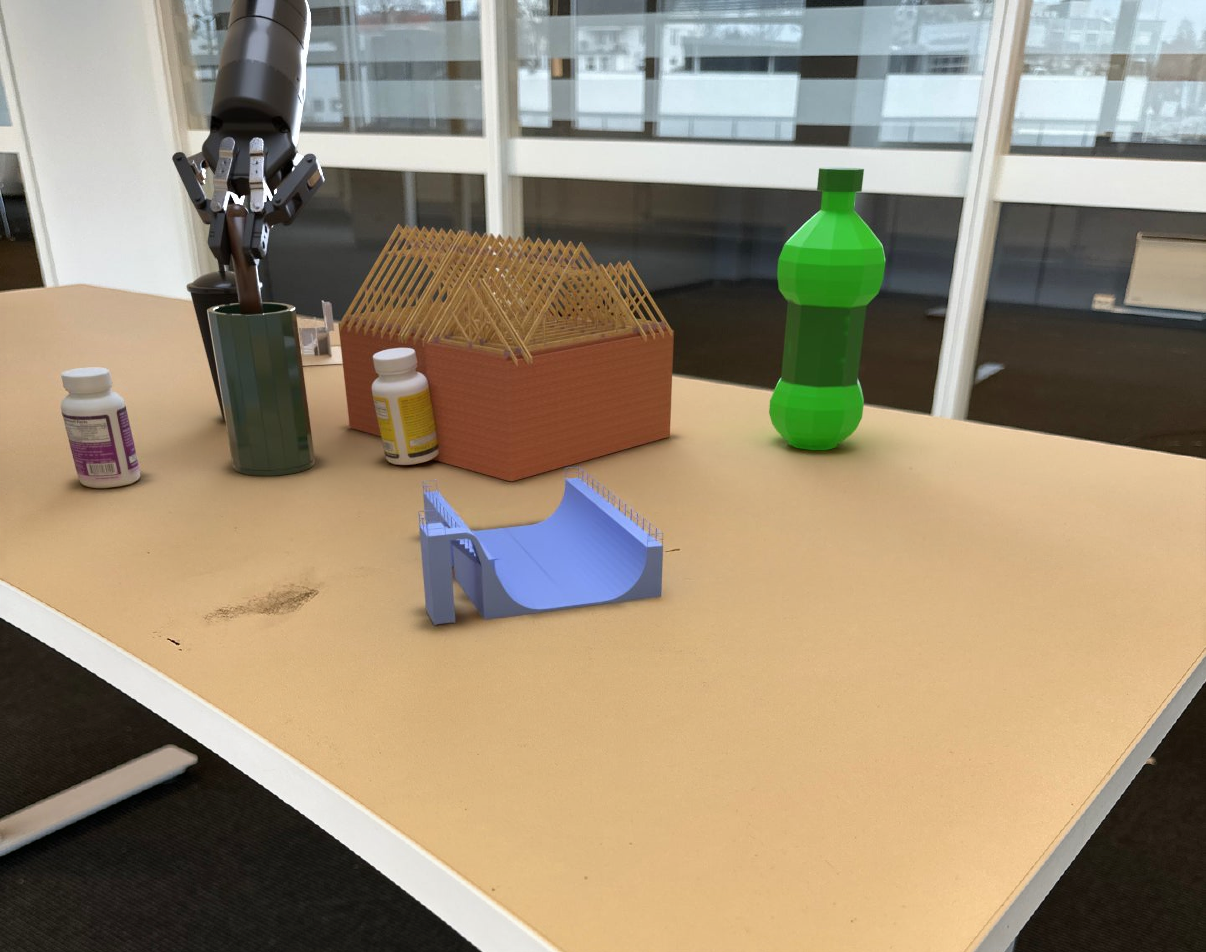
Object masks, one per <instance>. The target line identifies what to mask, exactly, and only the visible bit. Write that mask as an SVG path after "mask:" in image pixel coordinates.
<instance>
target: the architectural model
mask: <svg viewBox="0 0 1206 952" xmlns="http://www.w3.org/2000/svg"><path fill="white" fill-rule="evenodd" d="M321 306H322V313H323V322H324V326H321V327H317V319H316V316H314V317H299V320H300V322H302V320H306V321H304V322H303V323H300V326H298V332H299V340H300V348H301V356H302V364H303V367H304V366H305V367H306V366H323V365H324V366H325V365H340V364H342V365H343V362H342V353H341V345H336V346H335V345H334V346H332V345H331V337H330V332H335V326H334V324H335V323H334V316H333V314H334V313H333V307H332V303H331V302H330V301H324V300H321ZM312 321H313V323H314V325H313V326H311V327H303V326H305V325H307V324H309V323H310V322H312Z"/></svg>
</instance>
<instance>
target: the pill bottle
mask: <svg viewBox="0 0 1206 952" xmlns="http://www.w3.org/2000/svg"><path fill="white" fill-rule="evenodd" d="M60 376H61V381H62V387H63V388H64V390H65V391H66V392H67V393H68V394H67V395H66V396H64V397H63V398H62V400H61V403H60V411H61V416H62V420H63V423H64V427H65V431H66V435H67V438H68V439H67V440H68V443H69V447H70V451H71V456H72V459H73V463H74V467H75V470H76V474H77V477H78V480H79V482H80V484H81V485H82V486H85V487H87V488H93V489H109V488H117V487H119V488H120V487H123V486H128V485H132V484H134V483H135V482H136V481H138V480H139V479H140V478H141V470H140V464H139V459H138V455H137V450H136V446H135V441H134V436H133V433H132V428H131V424H130V419H129V415H128V411H127V406H126V402H125V400H124V399H123V397H122V395H120V394H119V393H117V392H116V391H113V390H111V388H112V387H113V380H112V375H111V372H110V370H109V369H108V368H105V367H100V366H99V367H98V366H97V367H96V366H95V367H94V366H89V367H87V366H86V367H77V368H72V369H71V368H70V369H67V370H63V371H62V372H61V373H60Z"/></svg>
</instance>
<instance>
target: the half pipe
mask: <svg viewBox="0 0 1206 952" xmlns="http://www.w3.org/2000/svg"><path fill="white" fill-rule="evenodd" d="M575 468H577V472H576V471H575V472H574V474H577V477H570V478H567V474H568V475H569V474H570V472H566V469H567V467H564V473H565V475H564V490H563V492H564V493H563V496H562V499H561V501H560V503H559V505H558V506H557V508H556V509H555V510H554V512H553V513H552V514H551V515H550V516H548V517H547V518H546V519H544V520H542V521H540V522H536V523H534V524H527V525H519V526H518V525H517V526H509V527H499V528H491V529H490V528H489V529H480V530H472V529H470V528H469V526H468V525H467V524H466V523H465V522H464V520H463V519H462V518H461V517H460V516H459V514H458V513H457V512H456V510H455V509H454V508H453V507H452V506H451V504H449V502H448V501H447V500H446V498H444V496H443V495H442V494H441V493H440V492H439V490H438V489H439V488H438V484H436V485H435V487H436V490H434V491H433V490H431V489H430V488H429V487H431V485H427V484H426V483H425V481H424V480H422V484H423V485H424V486H422V497H423V509H424V510H420V511H418V523H419V524H418V528H419V539H420V540H419V541H420V552H421V553H420V554H421V565H422V576H423V578H422V579H423V589H424V601H425V612H426V614H427V615H428V617H429V618H430V620H431V622H432V624H433V626H434V627H436V626H437V625H442V624H450V623H453V624H456V613H455V612H456V610H455V595H454V580H455V581H456V583H458V585H459V587H461V590H463V592H464V593H465V595H466V596H467V598H468V599H469V600H470V602H471V604H472V605H473V606H474V607H475V609H476V610H477V611H478V614H479V615H480V616H481V617H482V619H483V620H484V621H488V620H494V619H502V618H510V617H517V616H526V615H533V614H540V613H548V612H549V613H550V612H556V611H562V610H571V609H578V608H586V607H593V606H595V607H596V606H601V605H610V604H616V603H617V604H618V603H624V602H631V601H632V602H633V601H639V600H646V599H655V598H656V599H657V598H662V589H663V588H662V587H663V563H664V532H662V531H661V530H660V529H658V528H657V527H656V526H655V525H654V524H652V523H650V522H649V520H648V519H646V518H644V517H643V516H642V515H641V514H639V513H638V512H637V511H635V510H634V509H633V508H632V507H631V506H629V505H628V504H626V503H625V502H624V501H623V500H621V498H619V497H617V496H616V495H615V494H614V493H612V492H611V491H610V490H609V489H607V488H606V487H605V486H603V485H602V484H601V483H600V482H598V481H597V480H596V479H595V478H593V477H592V476H590V475H589V474H588V473H587V472H586V471H584V470H583V469H582V468H580V466H571V467H570V469H575ZM579 470H581V471H582V472H581V473H582V474H581V473H580V472H579ZM584 474H586V477H587V478H586V477H585V476H584ZM579 475H580V476H582V478H583V479H585V480H587V482H585V481H584V480H583V479H581V478H580V476H579ZM589 478H591V480H592V481H590V480H589ZM432 481H433V482H434V481H436V482H438V479H430V480H429V479H428V482H432ZM594 481H595V482H596V483H597V484H596V485H597V486H596V485H595V484H594ZM589 483H591V485H592V486H590V485H589ZM599 485H600V486H601V487H602V490H601V488H599ZM594 487H596V488H597V491H596V490H595V489H594ZM427 489H428V491H427ZM605 490H607V494H606V493H605V492H604V491H605ZM599 491H601V492H602V495H601V494H600V493H599ZM610 494H612V495H613V497H614V498H615V497H616V498H617V499H618V502H616V500H615V499H614V498H613V499H612V498H611V497H610ZM605 495H606V496H607V499H606V498H605V497H604V496H605ZM610 499H611V501H613V503H616V504H617V505H618V507H616V506H615V504H612V503H611V502H610ZM621 502H622V503H623V504H624V507H623V506H621ZM627 507H628V508H630V512H629V511H628V510H627ZM621 508H622V509H623V510H624V513H623V512H622V511H621ZM633 512H635V514H636V517H635V516H634V515H633ZM421 513H424V516H423V515H422V514H421ZM627 513H628V514H630V517H628V516H627ZM639 516H640V517H641V518H642V521H640V520H639ZM633 518H635V519H636V522H635V521H634V520H632V519H633ZM421 519H422V520H421ZM645 521H646V522H647V523H648V524H649V525H648V526H649V527H648V526H647V525H645ZM638 522H640V523H641V524H642V527H641V526H640V525H639V523H638ZM651 526H652V527H653V528H655V532H654V531H653V530H652V529H651ZM645 527H646V528H647V529H648V532H647V531H646V530H645ZM658 531H659V532H660V533H658ZM651 532H652V533H651ZM652 535H655V537H653V536H652ZM660 535H662V537H661V536H660ZM658 538H659V540H658ZM660 541H661V542H660ZM453 570H454V580H453Z"/></svg>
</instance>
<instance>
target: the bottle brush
mask: <svg viewBox="0 0 1206 952" xmlns="http://www.w3.org/2000/svg"><path fill="white" fill-rule="evenodd" d="M247 213H250V212H249V210H248V208H247V207H246V206H245V205H244V204H239V203H233V204H231V205H229V206H228V208H227V210H226V221H227V228H228V234H229V241H230V247H231V260H232V266H233V272H234V273H235V280H236V286H237V293H238V299H239V306H240V312H241V314H263V313H264V312H263V305H262V302H263V300H262V299H263V298H262V292H261V291H260V284H259V282H260V279H259V272H258V271H259V270H258V266H249V264H248V262H247V260H246V259H245V257H244V255H243V252H242V243H243V236H244V229H245V222H246V216H247Z"/></svg>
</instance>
